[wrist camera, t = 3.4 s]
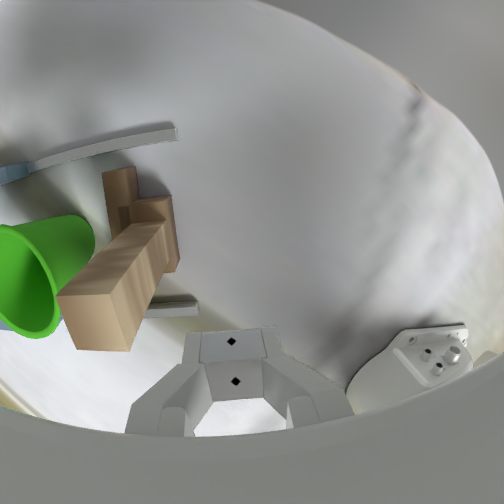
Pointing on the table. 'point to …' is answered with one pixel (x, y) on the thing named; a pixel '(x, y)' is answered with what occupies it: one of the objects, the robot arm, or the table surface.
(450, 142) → the table surface
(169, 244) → the stepped wooden block
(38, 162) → the track
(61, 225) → the cup
